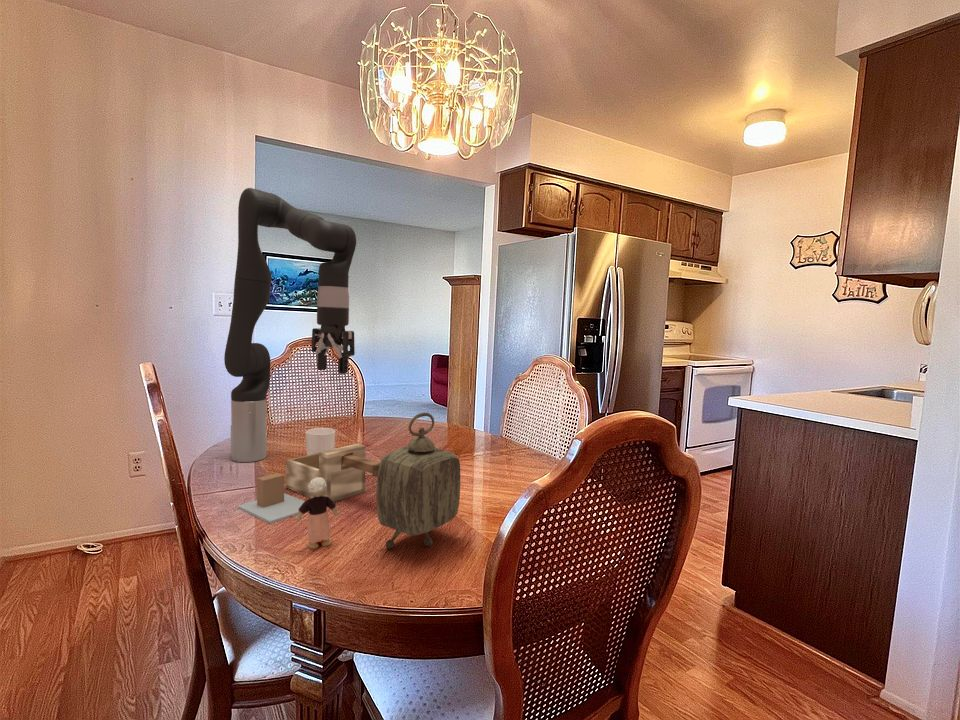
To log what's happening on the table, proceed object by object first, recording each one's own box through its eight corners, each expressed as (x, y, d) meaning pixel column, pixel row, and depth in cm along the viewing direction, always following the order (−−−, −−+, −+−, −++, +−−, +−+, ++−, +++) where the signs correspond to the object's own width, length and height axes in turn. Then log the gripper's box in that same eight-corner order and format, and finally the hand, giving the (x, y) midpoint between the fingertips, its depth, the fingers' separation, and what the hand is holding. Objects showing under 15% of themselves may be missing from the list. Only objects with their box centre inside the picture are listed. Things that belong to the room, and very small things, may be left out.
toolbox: (285, 488, 124) (285, 442, 123) (323, 477, 133) (324, 434, 132) (326, 504, 115) (327, 454, 114) (364, 492, 123) (365, 445, 122)
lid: (237, 510, 111) (237, 478, 110) (283, 496, 120) (283, 467, 119) (270, 525, 103) (270, 492, 103) (316, 510, 112) (316, 479, 112)
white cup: (326, 471, 138) (326, 435, 137) (299, 469, 140) (300, 433, 139) (339, 463, 146) (340, 429, 145) (314, 461, 147) (314, 427, 146)
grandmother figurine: (331, 535, 99) (332, 471, 98) (340, 542, 96) (341, 477, 95) (292, 546, 94) (292, 479, 93) (300, 554, 91) (300, 484, 90)
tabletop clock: (426, 525, 106) (430, 405, 103) (461, 537, 100) (466, 411, 98) (375, 549, 94) (377, 415, 92) (412, 564, 89) (415, 422, 86)
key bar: (340, 465, 117) (340, 455, 117) (351, 462, 120) (351, 452, 120) (375, 476, 110) (375, 465, 110) (386, 473, 113) (386, 462, 113)
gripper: (364, 307, 124) (362, 373, 125) (328, 305, 132) (327, 368, 134) (338, 305, 118) (336, 375, 119) (302, 304, 126) (302, 369, 128)
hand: (332, 371), depth 126 cm, fingers open, 8 cm apart
